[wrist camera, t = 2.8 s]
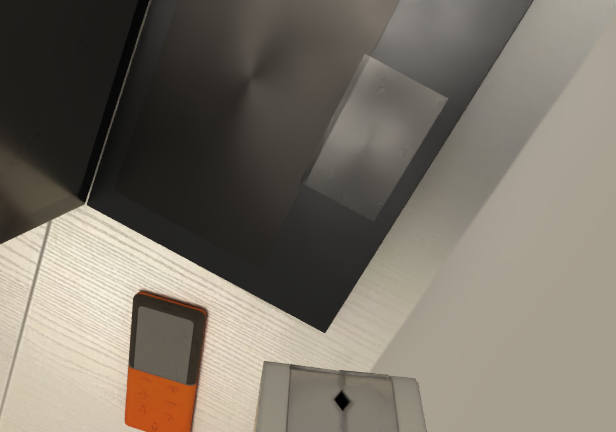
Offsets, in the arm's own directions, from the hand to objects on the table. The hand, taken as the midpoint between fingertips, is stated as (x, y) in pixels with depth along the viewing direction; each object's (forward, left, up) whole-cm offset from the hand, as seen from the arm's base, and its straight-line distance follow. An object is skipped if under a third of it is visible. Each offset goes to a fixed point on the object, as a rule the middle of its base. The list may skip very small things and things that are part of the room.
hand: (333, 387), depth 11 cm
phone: (+30, +9, -28) cm, 42 cm away
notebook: (+6, -5, -28) cm, 29 cm away
